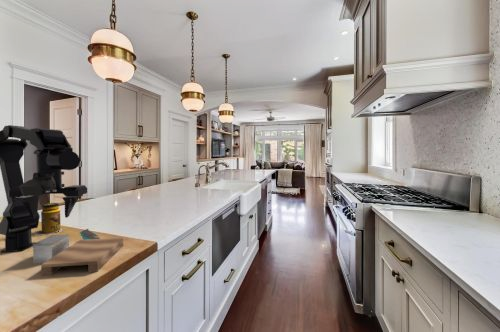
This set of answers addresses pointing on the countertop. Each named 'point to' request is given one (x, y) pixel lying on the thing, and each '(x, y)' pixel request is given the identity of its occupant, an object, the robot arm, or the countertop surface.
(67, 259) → the stand
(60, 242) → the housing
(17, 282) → the countertop surface
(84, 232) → the knife
